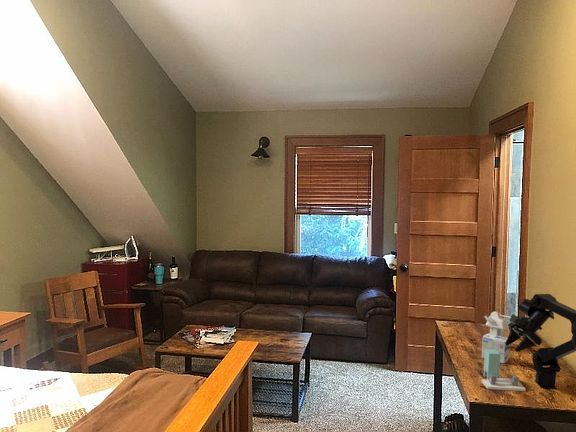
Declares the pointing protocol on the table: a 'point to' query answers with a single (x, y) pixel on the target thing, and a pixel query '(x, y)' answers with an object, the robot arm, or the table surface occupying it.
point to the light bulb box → (496, 346)
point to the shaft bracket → (503, 383)
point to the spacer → (491, 363)
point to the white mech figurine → (496, 323)
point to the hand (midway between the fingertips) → (511, 347)
